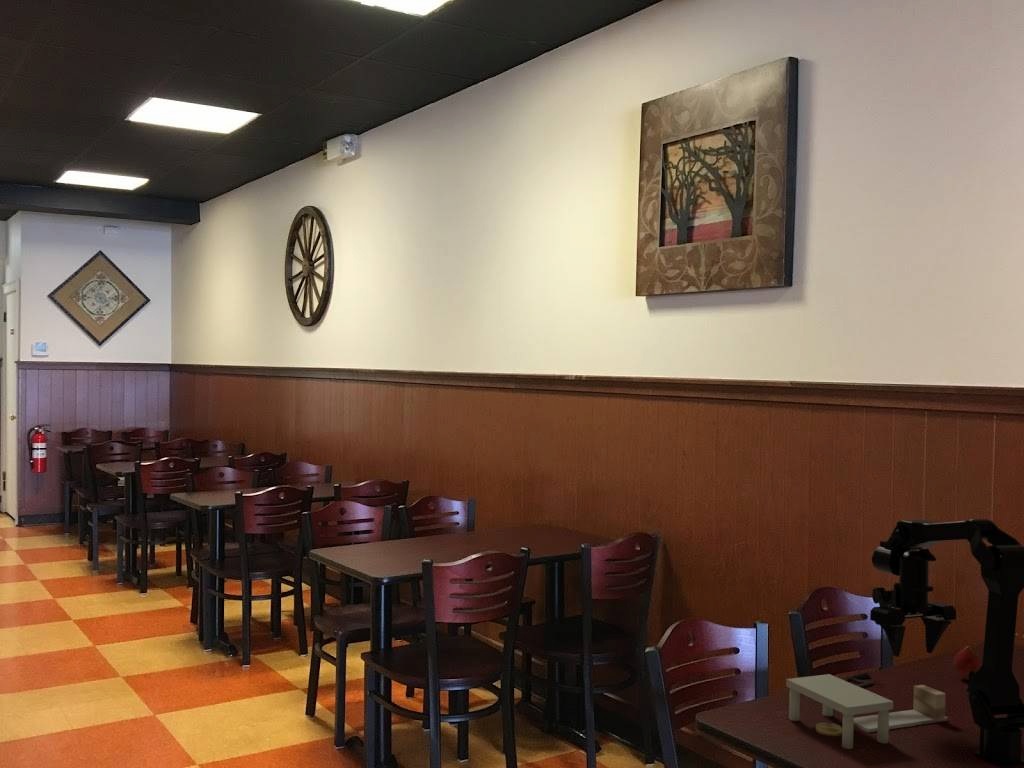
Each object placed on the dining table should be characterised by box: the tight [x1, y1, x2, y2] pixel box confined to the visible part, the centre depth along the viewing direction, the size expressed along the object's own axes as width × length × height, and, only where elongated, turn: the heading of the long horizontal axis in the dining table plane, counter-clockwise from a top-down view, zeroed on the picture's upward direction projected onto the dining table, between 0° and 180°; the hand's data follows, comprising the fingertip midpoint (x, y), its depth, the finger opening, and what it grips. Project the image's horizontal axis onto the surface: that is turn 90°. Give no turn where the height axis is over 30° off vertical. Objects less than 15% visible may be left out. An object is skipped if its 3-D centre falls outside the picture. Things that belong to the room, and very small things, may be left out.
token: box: [815, 721, 842, 737], centre depth 193 cm, size 5×5×1 cm
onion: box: [952, 645, 982, 681], centre depth 229 cm, size 6×6×8 cm
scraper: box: [854, 684, 948, 733], centre depth 199 cm, size 6×21×6 cm, turn 113°
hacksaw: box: [842, 671, 883, 688], centre depth 220 cm, size 24×10×2 cm, turn 123°
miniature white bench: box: [785, 673, 894, 750], centre depth 193 cm, size 18×11×8 cm, turn 22°
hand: (912, 654), depth 204 cm, fingers open, 9 cm apart
